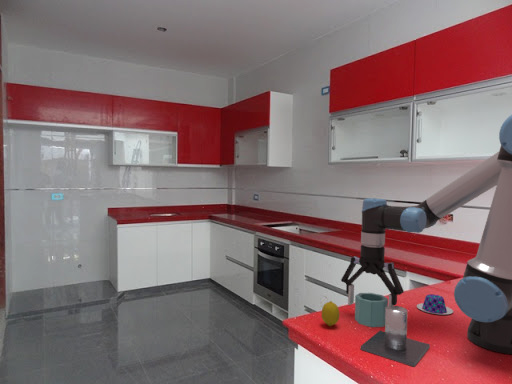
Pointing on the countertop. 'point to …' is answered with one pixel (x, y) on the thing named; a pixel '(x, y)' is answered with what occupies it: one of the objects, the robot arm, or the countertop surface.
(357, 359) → the countertop surface
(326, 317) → the lemon
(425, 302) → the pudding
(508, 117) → the robot arm
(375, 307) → the collar
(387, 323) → the domed lamp fixture
